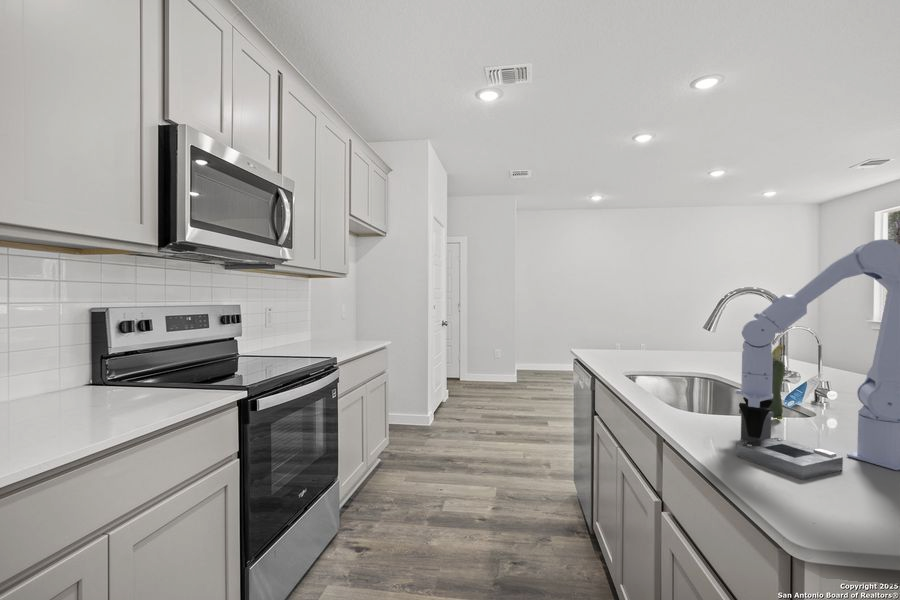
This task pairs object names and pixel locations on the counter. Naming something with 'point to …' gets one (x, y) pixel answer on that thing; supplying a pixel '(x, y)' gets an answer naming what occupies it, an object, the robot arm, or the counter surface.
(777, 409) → the vegetable
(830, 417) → the counter surface
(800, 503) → the counter surface
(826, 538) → the counter surface
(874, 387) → the robot arm
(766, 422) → the plug
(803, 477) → the socket plate
